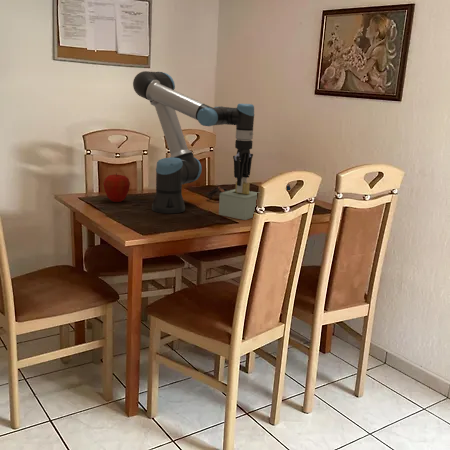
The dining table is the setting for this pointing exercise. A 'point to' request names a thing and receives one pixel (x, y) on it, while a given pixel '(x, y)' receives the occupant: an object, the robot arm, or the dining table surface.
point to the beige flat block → (244, 188)
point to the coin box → (237, 204)
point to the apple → (116, 187)
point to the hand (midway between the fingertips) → (241, 191)
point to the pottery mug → (216, 192)
